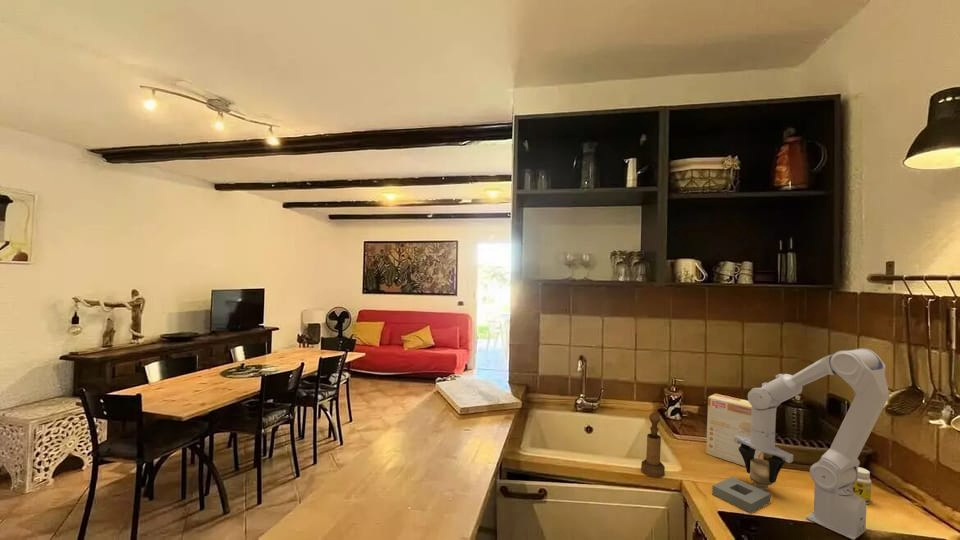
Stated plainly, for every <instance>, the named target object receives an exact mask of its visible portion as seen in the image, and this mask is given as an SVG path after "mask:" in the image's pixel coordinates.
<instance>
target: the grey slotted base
mask: <svg viewBox="0 0 960 540" xmlns="http://www.w3.org/2000/svg"><path fill="white" fill-rule="evenodd" d="M711 488H712V489H711V491H712V492H711V493H712V496H715V497H716V498H718V499H721V500H723V501H725V502H727V503H729V504H731V505H733V506H735V507H737V508H739V509H740V510H743V511H744V512H747V513H749V514H752V512H753V513H754V511H755V512H756V511H758V510H759V508H760V509H761V507H762V508H763V506H764V505H766V504H768V503H769V502H770V503H771V500H772V499H771V493H770V492H769V491H763V490H761V489H759V488H757V487H755V485H751V484H749V483H747V482H745V481H743V480H740V479H738V478H737V477H734V476H731V477H729V478H726V479H723V480H721V481H720V482H717V483H715V484H713V485H712V486H711ZM770 503H769V504H770ZM769 504H768V505H769ZM766 506H767V505H766ZM764 507H765V506H764Z"/></svg>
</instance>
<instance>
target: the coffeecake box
mask: <svg viewBox="0 0 960 540" xmlns="http://www.w3.org/2000/svg"><path fill="white" fill-rule="evenodd" d="M751 414H752V405H751V404H750V403H749V401H748V399H747V400H746V399H743V398H742V399H741V398H738V397H737V398H736V397H733V396H729V395H723V394H719V393H714V394H712V395H709V396H708V397H707V419H706V421H707V423H706V447H705V448H706V449H705V450H706V451H705V452H706V455H709V456H712V457H716V458H717V459H718V458H719V459H722V460H725V461H728V462H731V463H733V464H737V465H740V466H743V467H745V468H746V466H745V462H744V459H743V457H742V455H741V453H740V451H739V447H740V446H741V444H736V443H734V436H737V435H739V436H742V437H746V438H750V439H751ZM754 458H757V459H762V460H764V453H763V452H761V451H758V450H755V455H754Z"/></svg>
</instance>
